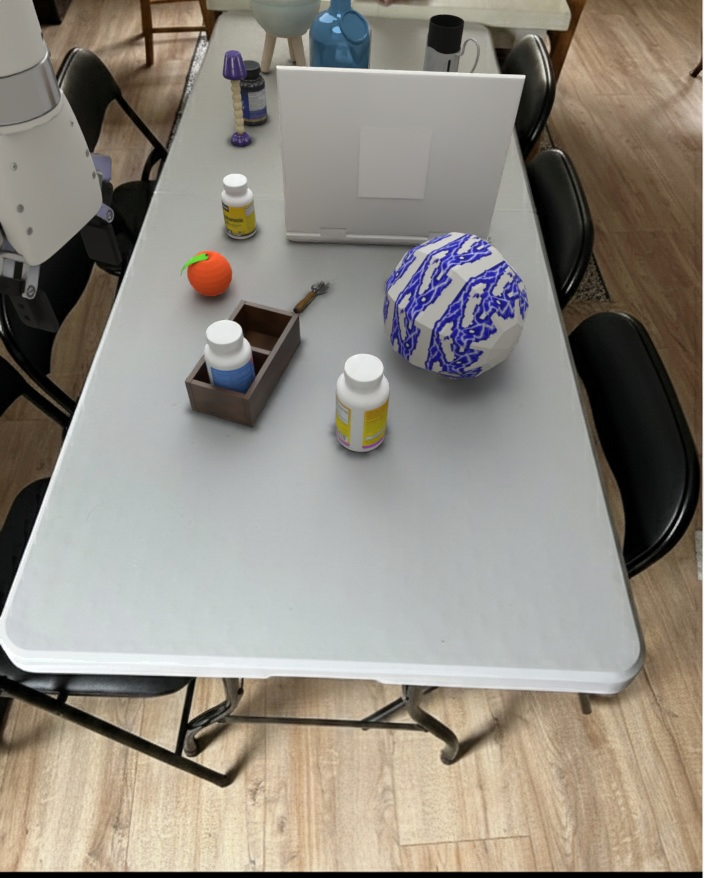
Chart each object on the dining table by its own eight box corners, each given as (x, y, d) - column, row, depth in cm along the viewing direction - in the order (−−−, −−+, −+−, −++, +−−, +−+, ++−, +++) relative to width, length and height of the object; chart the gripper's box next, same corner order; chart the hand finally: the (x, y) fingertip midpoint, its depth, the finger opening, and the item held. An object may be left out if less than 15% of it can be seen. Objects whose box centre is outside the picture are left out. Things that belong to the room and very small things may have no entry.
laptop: (469, 171, 125) (500, 8, 102) (485, 251, 109) (526, 78, 86) (296, 165, 124) (289, -1, 102) (286, 244, 108) (275, 68, 86)
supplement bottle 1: (219, 234, 110) (211, 182, 102) (238, 219, 112) (231, 167, 105) (244, 244, 108) (238, 192, 100) (262, 228, 111) (258, 177, 103)
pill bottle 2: (235, 115, 136) (229, 60, 127) (261, 110, 138) (257, 56, 129) (244, 128, 133) (239, 73, 124) (271, 123, 134) (267, 68, 126)
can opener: (298, 315, 97) (297, 310, 96) (286, 309, 98) (286, 303, 97) (333, 286, 102) (333, 281, 101) (321, 281, 102) (321, 275, 101)
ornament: (446, 364, 72) (336, 276, 80) (463, 429, 89) (371, 351, 98) (563, 250, 73) (443, 176, 82) (557, 335, 91) (458, 267, 100)
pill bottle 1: (265, 394, 86) (258, 335, 77) (228, 415, 84) (216, 356, 75) (241, 368, 89) (231, 309, 80) (204, 388, 86) (190, 328, 78)
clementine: (192, 312, 97) (184, 275, 91) (179, 286, 101) (170, 249, 95) (241, 298, 99) (235, 261, 94) (226, 273, 103) (220, 236, 97)
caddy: (191, 409, 85) (184, 381, 81) (245, 328, 95) (241, 299, 91) (252, 427, 83) (248, 400, 79) (300, 342, 94) (299, 314, 89)
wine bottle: (298, 98, 142) (293, -66, 118) (345, 84, 147) (348, -76, 123) (334, 122, 136) (335, -46, 112) (381, 106, 141) (392, -58, 117)
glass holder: (435, 82, 149) (445, 10, 137) (481, 103, 143) (495, 30, 131) (410, 92, 146) (418, 19, 134) (456, 114, 140) (468, 40, 128)
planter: (321, 85, 146) (320, -29, 129) (252, 84, 145) (242, -31, 128) (320, 56, 156) (320, -54, 138) (256, 55, 155) (247, -56, 137)
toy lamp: (230, 135, 131) (219, 48, 117) (252, 134, 131) (244, 47, 118) (231, 147, 128) (220, 58, 115) (254, 146, 128) (245, 57, 115)
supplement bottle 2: (390, 421, 85) (398, 354, 75) (378, 459, 81) (385, 393, 71) (343, 410, 86) (345, 342, 76) (329, 447, 82) (329, 380, 72)
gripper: (29, 31, 47) (93, 229, 61) (-153, 133, 37) (-27, 345, 50) (117, 48, 46) (162, 246, 59) (-45, 159, 36) (54, 368, 49)
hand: (75, 291), depth 55 cm, fingers open, 9 cm apart
